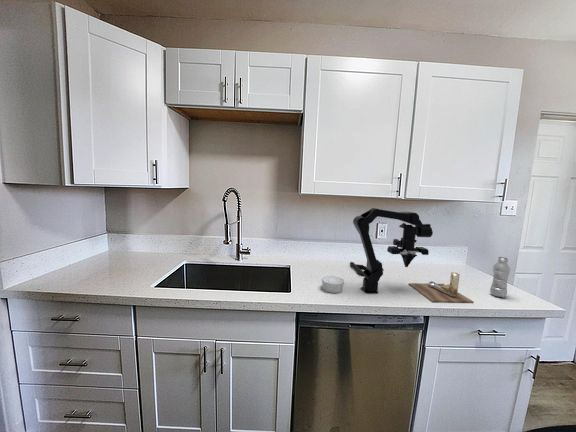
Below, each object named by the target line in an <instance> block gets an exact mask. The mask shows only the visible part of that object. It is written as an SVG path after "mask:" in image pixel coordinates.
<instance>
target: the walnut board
mask: <svg viewBox="0 0 576 432" xmlns="http://www.w3.org/2000/svg"><path fill="white" fill-rule="evenodd" d="M436 284H437V285H439V286H443V285H446V283H436ZM408 286H410V287H411V288H412V289H414V290H415V291H416V292H418V293H419V294H421V295H422V296H423V297H424V298H426V299H427V300H428V301H430V302H431V303H435V304H436V303H440V304H442V303H445V304H447V303H449V304H450V303H451V304H474V303H475V302H474V301H473V300H472V299H470V298H468V297H467V296H465V295H463V294H462V293H460V292H457V295H456V296H450V295H448V294H446V293H444V292H442V291H440V290H438V289H436V288H433V287H429V286H428V283H426V282H425V283H419V282H415V283H414V282H409V283H408Z"/></svg>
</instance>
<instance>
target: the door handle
mask: <svg viewBox="0 0 576 432" xmlns="http://www.w3.org/2000/svg"><path fill="white" fill-rule="evenodd" d="M349 266H351V268H352V270H353V271H354V272H355V273H356V274H357V275H359V276H360V277H364V276H363V273H362V272H363V271H364V270H366V269H367V265H364V264H359V263H358V264H356V263H354V262H353V261H350V262H349Z"/></svg>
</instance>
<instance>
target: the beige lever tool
mask: <svg viewBox="0 0 576 432" xmlns="http://www.w3.org/2000/svg"><path fill="white" fill-rule="evenodd" d="M459 282H460V273H458V272H452V271H451V272H450V278H449V284H448V285H449V290H445V289H442V288H441V286H439V285H437V284H438V283H436V282H435V281H428V283H427V284H428V286H429V287H433V288H436V289H438V290H440V291H442V292H444V293H446V294H448V295H450V296H456V295H457V292H458V290H459ZM458 293H459V292H458Z"/></svg>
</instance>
